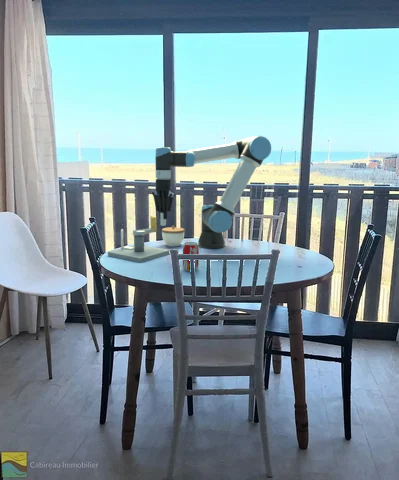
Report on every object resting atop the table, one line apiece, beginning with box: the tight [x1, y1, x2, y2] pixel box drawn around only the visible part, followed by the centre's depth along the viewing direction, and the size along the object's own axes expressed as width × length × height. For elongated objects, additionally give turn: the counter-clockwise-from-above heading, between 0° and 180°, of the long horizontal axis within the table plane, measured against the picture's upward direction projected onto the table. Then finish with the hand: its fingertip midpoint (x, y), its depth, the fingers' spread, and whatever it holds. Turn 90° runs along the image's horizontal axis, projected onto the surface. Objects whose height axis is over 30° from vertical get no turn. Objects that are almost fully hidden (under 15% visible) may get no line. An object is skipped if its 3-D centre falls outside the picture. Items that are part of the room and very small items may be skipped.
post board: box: [107, 228, 170, 263], centre depth 206 cm, size 22×22×12 cm
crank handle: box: [132, 215, 157, 237], centre depth 209 cm, size 16×6×8 cm, turn 146°
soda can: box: [182, 241, 200, 272], centre depth 180 cm, size 7×7×12 cm
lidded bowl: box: [161, 225, 185, 247], centre depth 231 cm, size 13×13×11 cm
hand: (163, 225), depth 210 cm, fingers closed
